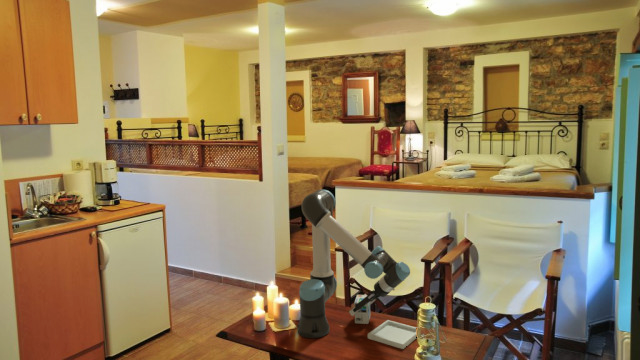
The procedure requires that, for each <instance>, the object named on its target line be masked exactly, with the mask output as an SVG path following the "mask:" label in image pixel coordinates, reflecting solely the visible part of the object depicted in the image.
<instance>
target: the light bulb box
mask: <svg viewBox="0 0 640 360" xmlns="http://www.w3.org/2000/svg"><path fill="white" fill-rule="evenodd" d="M367 295H368V294H356V297H355V300H354V302H353V303H354V304H353V305H355V304H358V303H359V302H360V301H361V300H363V299H364V298H365V297H366V296H367ZM370 319H371V305H370V302H369V303H367V304H366V305H365V306H363V307H362V308H361V309H360V310H359V311H358V312H357V313H356V314H355V315H354V323H355V324H361V325H362V324H363V325H365V324H366V325H368V324H369V322H370Z"/></svg>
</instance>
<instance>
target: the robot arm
mask: <svg viewBox="0 0 640 360" xmlns="http://www.w3.org/2000/svg"><path fill="white" fill-rule="evenodd" d="M335 198H336V197H335V196H334V194H333V193H332V192H331V191H329V190H327V189H318V190H315V191H314V192H312V193H310V194H308V195H306V196H305V197H304V198H303V199H302V202H301V212H302V214H303V216H304V217H305V218H306V220H308V221H309V223H311V233H312V234H311V235H312V236H311V238H312V239H311V240H312V241H311V242H312V270H311V271H310V272H309V275H310V276H309V278H310V279H308V280H305V281H303V282H302V283H301V284H300V285H299V291H298V294H299V311H300V317H299V320H298V324H297V326H296V327H297V328H296V329H297V332H296V333H297V334H298V335H299V336H300V337H302V338H306V339H318V338H323V337H325V336H327V335H328V334H329V333H330V323H329V322H328V319H327V316H326V302H327V301H329V299H330V298H331V297H333V295H334V294H335V292H336V290H337V286H338V281H337V278H336V277H335V272H334V271H333V270H332V268H331V267H332V266H331V264H332V263H331V261H332V260H331V240H333V242H334V243H336V244H337V245H338V246H339V247H340V248H341V249H342V250H343V251H344V252H346V253H347V254H348V255H349V257H351V258H352V259H353V260H354V261H355V262H356V263H357V264H358V265H359V266H361V268H363V269H364V274H365V275H366V277H368V278H369V279H374V280H375V279H377V278H379V277H380V276H381V275H382V274H384V275H383V276H382V277H381V278H379V280H377V281H376V282H375V283H374V285H373V290H372V291H370V293H368V294H366V295H367V296H366V297H365V298H364V299H363V300H361V301H360V302H359V303H358V304H354V307H352V309H350V310H349V311H348V313H349V314H350V316H351V317H355V314H356V313H357V312H358V311H359V310H360V309H361V308H362V307H363V306H365V305H366V304H367V303H369V302H370V306H371V305H372V304H373V303H374V302H375V301H379V298H381V297H382V298H383V297H387V296H388V295H389V294H390V293H391V292H392V291H395V290H396V289H395V288H397V287H398V286H399V285H400V284H402V283H403V282H404V281H405V280H406V279H407V278H408V277H409V276H410V273H411V269H410V267H409V265H408V264H407V263H405V262H404V261H399V262H397V261H396V260H395V259H393V257H392V256H391V255H390V254H389V253H388V251H386V250H385V249H384V248H382V247H381V246H380V245H378V246H376V247H375V248H374V249H372V251H371V250H369V249H368V248H367V247H366V246H365V245H364V244H363V243H362V242H361V241H360V240H359V239H357V238H356V237H355V236H354V235H353V234H352V233H351V232H350V231H349V230H348V229H346V228H345V227H344V226H343V224H341V223H340V222H339V221H338V220H336V218H334V215H333V214H334V213H333V210H334V208H335V206H336V199H335Z"/></svg>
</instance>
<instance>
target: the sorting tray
mask: <svg viewBox="0 0 640 360" xmlns="http://www.w3.org/2000/svg"><path fill="white" fill-rule="evenodd" d="M416 328H417V326H412V325H408V324H404V323H401V322H397V321H393V320H389V319H387V320H385V321H384V322H383V323H381V324H380V325H378V326H377V327H375V328H374V329H372V330H371V331H370V332H368V333H367V340H368V339H369V340H372V341H375V342H378V343H381V344H385V345H388V346H392V347H394V348H398V349H400V350H404V349H405V348H407V347H408V346H409V345H410V344H412V343H413V342H414V341H415V340H416V339H417V338H416ZM406 346H407V347H406Z"/></svg>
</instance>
